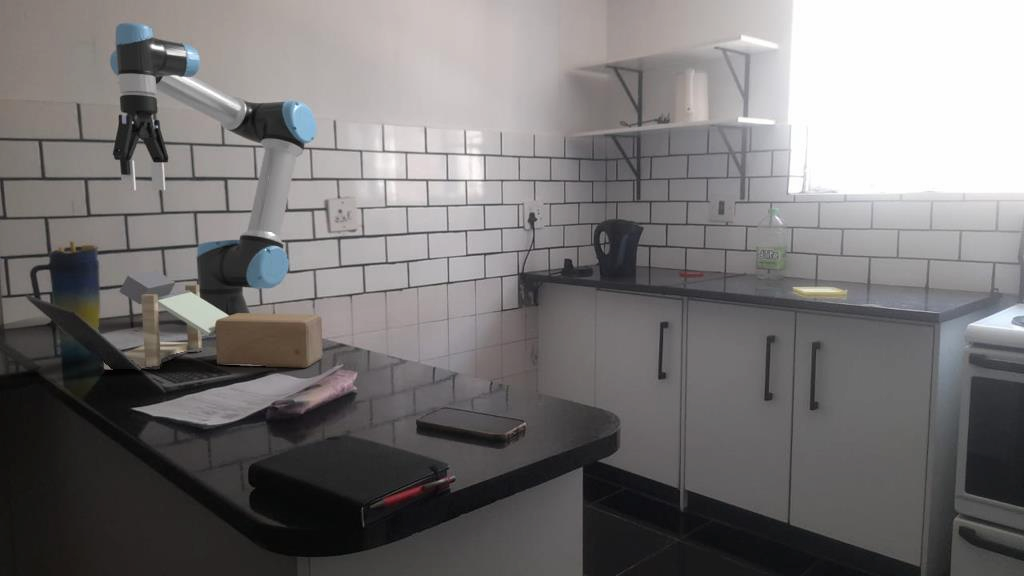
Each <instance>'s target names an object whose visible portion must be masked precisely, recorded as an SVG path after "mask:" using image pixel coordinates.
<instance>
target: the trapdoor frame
mask: <svg viewBox="0 0 1024 576" xmlns="http://www.w3.org/2000/svg"><path fill="white" fill-rule="evenodd" d="M184 288H185V289H184V291H185V290H190V291H191V292H192V293H194V294H195V295H197V296H198V297H200V293H199V285H198V284H190V283H189V284H188V283H187V284H186V285H184ZM141 298H142V304H141V312H142V313H141V314H142V330H143V331H142V332H143V334H142V335H143V345H141V346H139V347H137V348H133V349H131V350H127V351H125V352H123V353H124V354H125V355H126V356H128V357H129V358H130V359H131V360H133V361H134V362H135V363H136V364H138V365H139V366H140V367H141V368H145V367H152V366H159V365H160V364H161V359H162V358H164V357H166V356H169V355H172V354H176V353H180V352H184V351H187V350H193V349H199V348H202V349H203V343H202V341H203V339H202V332H200V331H199V330H197V329H195V328H194V327H192V326H191V325H189V324H187V323H186V329H187V330H186V331H187V342H178V341H175V342H173V341H172V342H171V341H160V337H161V336H160V321H159V319H160V318H159V306H158V297H157V294H144V295H141ZM161 365H162V364H161ZM103 369H104V370H112V369H111V368H110V367H109V366H108V365H106V364H105V363H104V362H103Z"/></svg>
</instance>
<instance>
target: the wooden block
mask: <svg viewBox="0 0 1024 576" xmlns="http://www.w3.org/2000/svg"><path fill="white" fill-rule="evenodd" d="M322 321H323V320H322V317H321V315H318V314H306V313H305V314H302V313H301V314H298V313H295V314H294V313H291V314H290V313H259V312H258V313H254V312H253V313H236V314H233V315H230V316H227V317H224V318H221V319H219V320H217V321H216V323H215V328H216V333H215V348H216V363H217V364H218V363H223V364H252V365H261V366H266V367H265V368H291V369H292V368H294V369H295V368H296V369H297V368H298V369H305V368H309V367H310V366H312V365H313V364H315V363H316V362H318V361H320V360H321V359H322V358H323V329H322V328H323V327H322V326H323V323H322Z"/></svg>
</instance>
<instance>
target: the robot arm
mask: <svg viewBox="0 0 1024 576" xmlns="http://www.w3.org/2000/svg"><path fill="white" fill-rule="evenodd" d="M114 39H115V43H114V45H115V50H114V51H113V52H112V53H111V55H110V57H109V63H110V68H111V70H112V72H113V73H114V74H115V75H116V77H118V80H117V84H118V89H119V93H120V94H122V95H120V97H119V105H120V106H119V108H120V111H121V113H123V114H119V115H118V126H117V130H116V136H115V140H114V146H113V150H112V155H113V157H114V158H113V159H114V160H115V161H119V165H120V166H119V167H120V176H121V177H120V178H121V190H122V191H137V184H136V172H135V171H136V170H135V160H132V158H133V156H134V153H135V150H136V148H137V145H138V142H139V140H141V141H143V142H144V145H145V147H146V149H147V152H148V154H149V155H150V157H151V160H152V162H150V170H151V171H150V172H151V184H152V190H153V191H166V179H165V166H164V165H165V163H168V162H169V154H168V151H167V147H166V145H165V140H164V137H163V133H162V131H161V130H162V129H161V122H160V120H159V119H153V118H152V115H156V114H157V113H158V110H159V109H158V99H157V98H156V97H155V96H156V95H157V91H158V92H160V93H162V94H164V95H167V96H168V97H170V98H172V99H174V100H176V101H178V102H180V103H181V104H184V105H185V106H188V107H190V108H191V109H194V110H196V111H198V112H199V113H201V114H203V115H206V116H207V117H210V118H212V119H213V120H215V121H218V122H219V123H220V125H221V126H222V128H223V129H224V130H227V131H229V132H231V133H233V134H235V135H237V136H239V137H242V138H243V139H246V140H249V141H250V142H251V141H252V142H254V143H257V144H261V146H262V147H263V148H264V154H263V157H262V163H261V167H260V171H259V177H258V181H257V185H256V190H255V194H254V198H253V199H254V200H253V203H252V204H253V205H252V209H251V213H250V216H249V223H248V226H247V227H248V228H247V230H246V231H245V232H243V233H242V234H240V236H239V239H228V240H225V239H224V240H216V241H208V242H202V243H199V244H198V246H197V248H196V257H195V258H196V266H197V269H196V270H197V285H199V293H200V298H202V299H203V300H205V301H206V302H208V303H210V304H211V305H213V306H214V307H216V308H218V309H219V310H221V311H223V312H224V313H226V314H227V315H229V316H230V315H233V314H236V313H250V310H249V307H248V304H247V301H246V298H245V297H244V293H243V288H248V289H249V288H251V289H255V290H263V289H264V290H265V289H273V288H275V287H277V286H278V285H280V284H281V283H282V282H283V281H284V280H285V278H286V276H287V273H288V271H289V265H290V263H289V262H290V261H289V259H288V253H286V250H284V246H285V245H284V243H283V241H282V239H281V238H280V236H281V233H282V227H283V223H284V222H283V221H284V218H285V217H284V216H285V213H286V208H287V204H288V199H289V193H290V189H291V184H292V179H293V175H294V171H295V167H296V166H295V165H296V159H297V158H298V157H300V156H301V155H303V153H304V151H305V150H304V149H305V144H309V143H311V142H312V141H314V140H315V137H316V134H317V129H318V128H317V127H318V126H317V121H316V118H315V116H314V114H313V113H314V112H313V111H312V110H311V108H310V107H309V106H308V105H307V104H306V103H304V102H302V101H297V100H295V101H294V100H285V101H273V102H250V101H246V100H244V99H242V98H241V97H235V96H234V97H231V96H229V95H228V94H225V93H224V92H222V91H221V90H219V89H216V88H215V87H213V86H211V85H209V84H208V83H206V82H205V81H204V82H203V81H202V80H200V79H199V78H196V77H195V75H196V74H197V73H199V70H200V66H201V58H200V55H199V52H198V51H197V49H196V48H195V47H194V46H191V45H188V44H185V43H182V42H180V43H179V42H175V41H169V40H165V39H164V40H163V39H161V38H156V37H154V34H153V29H152V27H151V26H148V25H146V24H142V23H137V22H122V23H118V24H117V25H116V26H115V38H114Z"/></svg>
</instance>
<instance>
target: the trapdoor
mask: <svg viewBox="0 0 1024 576" xmlns="http://www.w3.org/2000/svg"><path fill="white" fill-rule="evenodd" d="M175 285H176V281H174V280H172V279H171V278H170V277H168V276H166V275H165V274H163V273H161V272H160V271H158V270H152V271H147V272H139V273H134V274H130V275H127V277H126V278H125V280H124V282H123V284H122V285H121V288H120V289H119V291H118V292H119V293H120V294H122V295H124V296H125V297H127V298H129V300H132V301H133V302H135V304H136V303H137V304H138V305H142V298H141V295H144V294H157V297H158V307H160V308H162V309H163V310H165V311H166V312H168V313H169V314H171V315H173V316H174V317H176V318H178V319H179V320H181V321H182V322H184V323H186V325H187V324H189V325H191V326H192V327H194V328H195V329H197V330H199V331H200V332H201V334H204V335H205V336H206V337H207V336H208V337H209V336H210V335H214V334H216V328H215V323H216V321H217V320H219V319H221V318H224V317H227V316H229V315H227V314H226V313H224V312H223V311H221V310H219V309H218V308H216V307H214V306H213V305H211V304H210V303H208V302H206V301H205V300H203V299H202V298H200V297H198V296H197V295H195V294H194V293H192V292H191V291H190V290H185V289H184V290H182V291H178V292H174V293H171V292H172V291H173V288H174V287H175Z"/></svg>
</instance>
